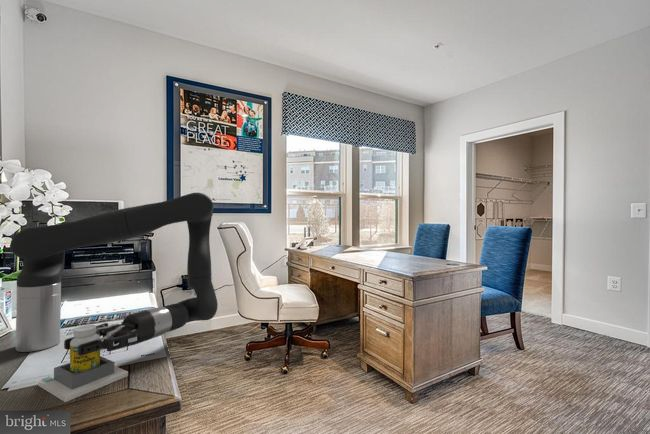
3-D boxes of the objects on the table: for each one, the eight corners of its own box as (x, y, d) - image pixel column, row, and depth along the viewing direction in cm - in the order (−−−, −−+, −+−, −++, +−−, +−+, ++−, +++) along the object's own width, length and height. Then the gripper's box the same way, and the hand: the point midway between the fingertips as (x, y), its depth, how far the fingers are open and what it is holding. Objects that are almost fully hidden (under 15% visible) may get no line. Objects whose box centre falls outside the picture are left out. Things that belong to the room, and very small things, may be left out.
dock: (38, 385, 68) (38, 369, 68) (100, 363, 79) (100, 349, 79) (65, 402, 62) (65, 384, 62) (127, 376, 73) (128, 360, 73)
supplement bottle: (100, 362, 74) (100, 322, 74) (99, 372, 70) (99, 329, 70) (71, 369, 71) (71, 326, 71) (68, 379, 67) (68, 333, 67)
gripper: (132, 306, 87) (55, 324, 72) (165, 314, 80) (88, 337, 65) (131, 333, 87) (55, 357, 72) (165, 344, 80) (88, 373, 65)
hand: (72, 347), depth 68 cm, fingers closed on supplement bottle, 5 cm apart
